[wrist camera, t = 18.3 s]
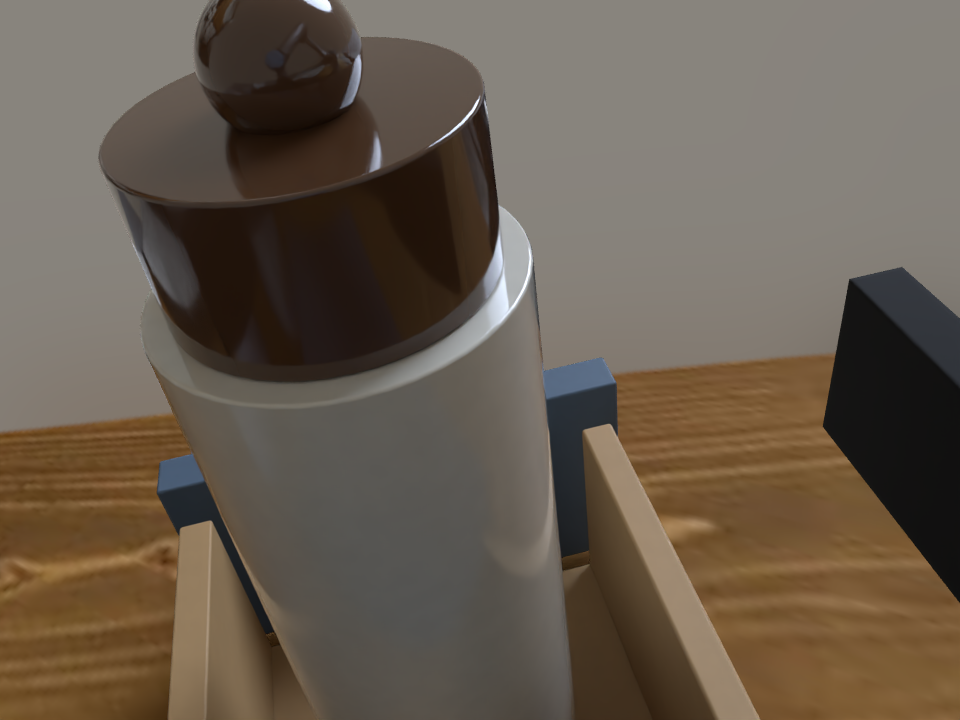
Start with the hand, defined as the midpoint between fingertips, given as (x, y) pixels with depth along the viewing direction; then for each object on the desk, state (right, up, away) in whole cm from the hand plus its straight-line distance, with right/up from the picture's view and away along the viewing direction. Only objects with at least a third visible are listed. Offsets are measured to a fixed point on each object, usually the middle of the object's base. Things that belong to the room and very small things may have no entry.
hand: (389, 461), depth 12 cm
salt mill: (+1, -8, +10) cm, 13 cm away
